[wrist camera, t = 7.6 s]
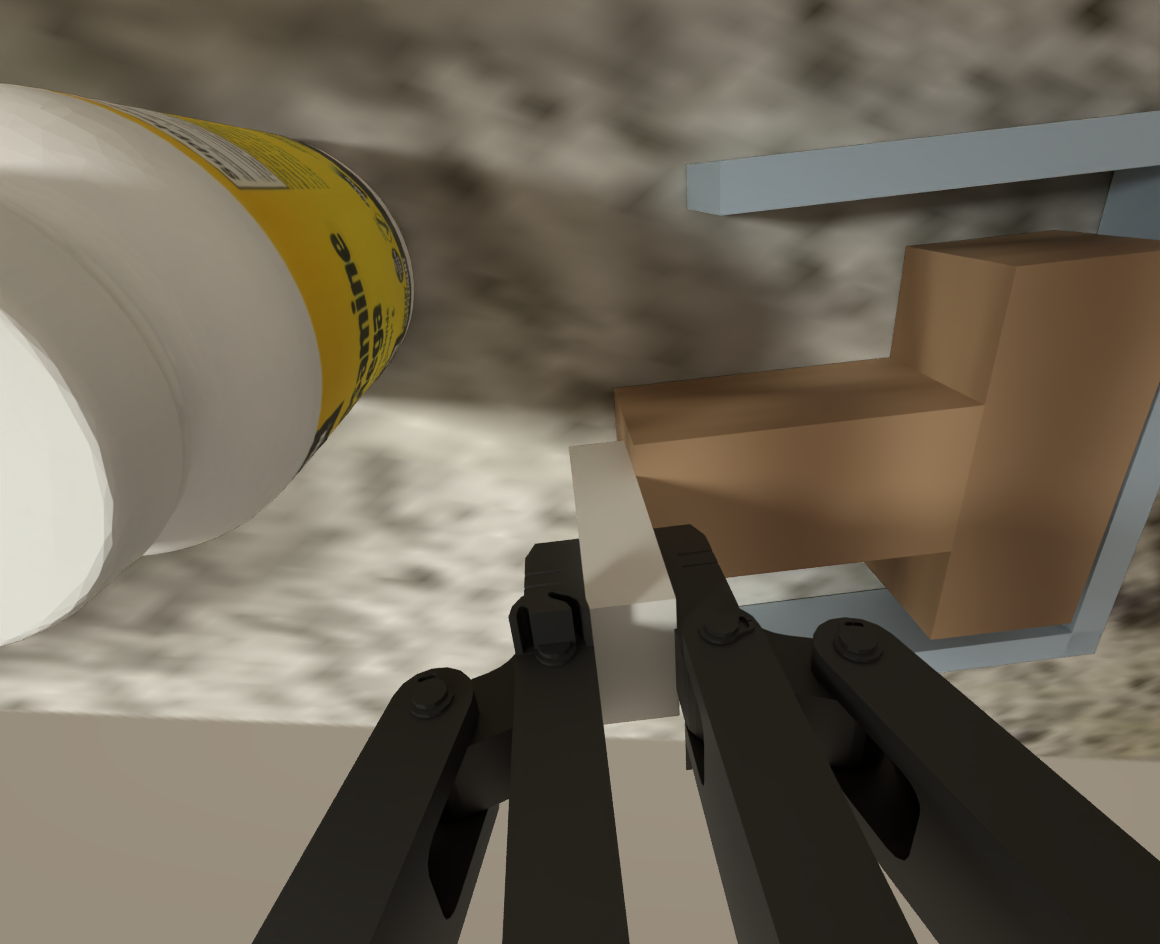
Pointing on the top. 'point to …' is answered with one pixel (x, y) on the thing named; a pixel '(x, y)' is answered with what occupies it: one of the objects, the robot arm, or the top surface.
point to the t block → (931, 435)
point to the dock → (1122, 143)
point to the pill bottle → (169, 333)
